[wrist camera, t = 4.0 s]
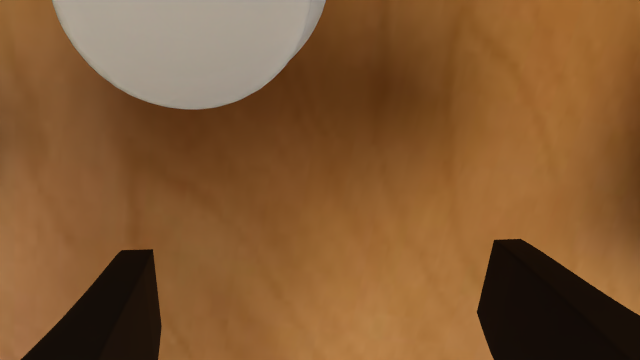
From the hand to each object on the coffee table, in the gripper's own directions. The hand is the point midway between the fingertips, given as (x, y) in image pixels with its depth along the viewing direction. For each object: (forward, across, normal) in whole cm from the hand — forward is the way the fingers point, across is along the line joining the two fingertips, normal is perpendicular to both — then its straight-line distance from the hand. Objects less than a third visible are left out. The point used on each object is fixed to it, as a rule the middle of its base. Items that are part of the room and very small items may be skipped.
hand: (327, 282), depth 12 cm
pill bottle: (+10, +3, -6) cm, 12 cm away
